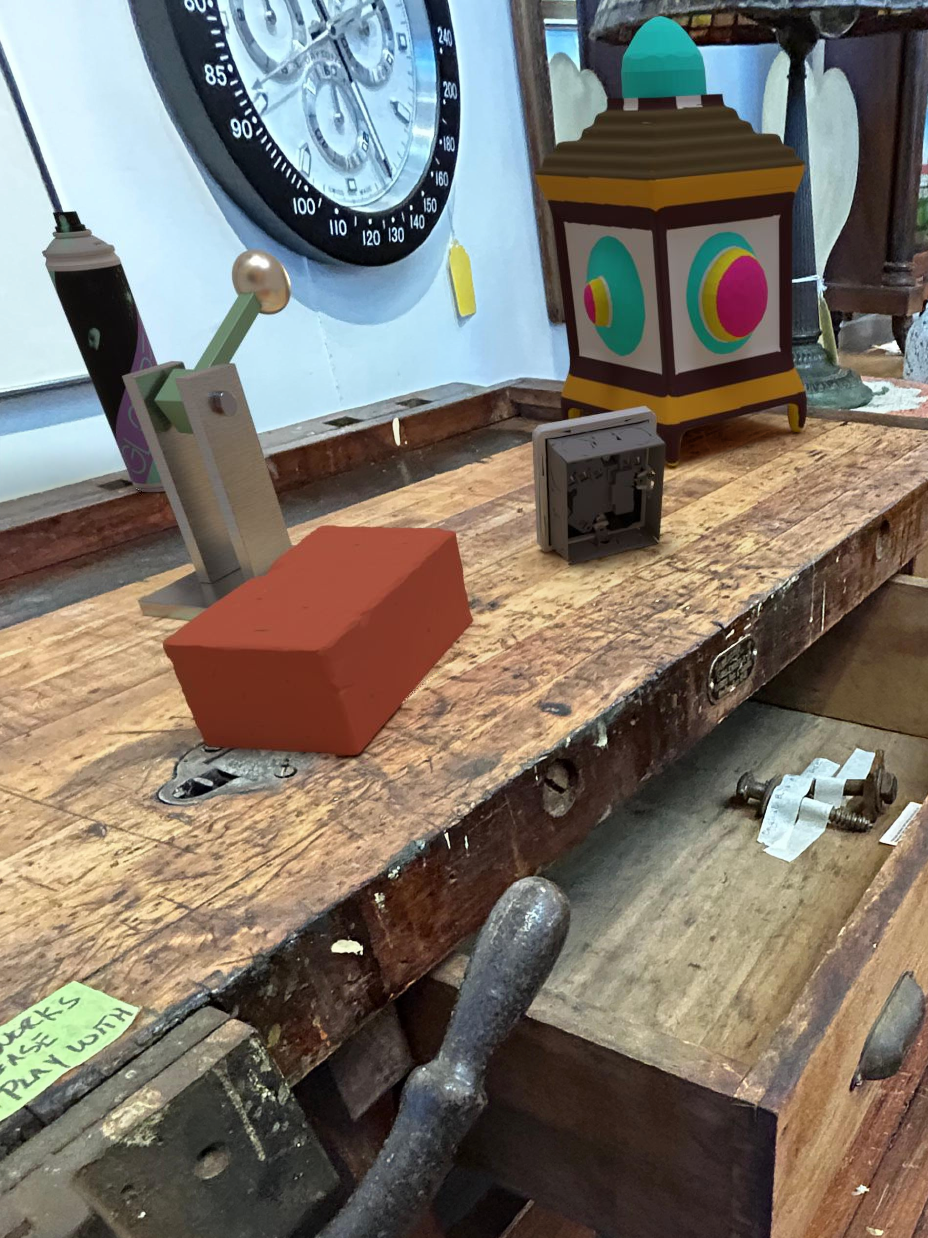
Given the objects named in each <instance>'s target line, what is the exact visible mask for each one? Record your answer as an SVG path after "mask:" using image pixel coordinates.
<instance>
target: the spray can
mask: <svg viewBox="0 0 928 1238" xmlns="http://www.w3.org/2000/svg"><path fill="white" fill-rule="evenodd" d="M52 215H53V218H54V221H55V225H56V226H54V230H55V231H52V237H54V238H53V239H52V240H51V241H50V243H48V246H47V247H46V248H45V249H44V250H42V251H41V253H42V257H44V258H45V263H44V265H45V268H46V270H47V273H48V275H49V277H50V280H51V282H52V285H53V288H54V290H55V293H56V295H57V297H58V299H59V302H60V306H61V307H62V310H63V312H64V316H65V317H66V320H67V324H68V325H69V327H70V330H71V333H72V335H73V337H74V341H75V343H76V345H77V348H78V350H79V352H80V355H81V358H82V361H83V363H84V366H85V368H86V371H87V373H88V375H89V378H90V380H91V383H92V385H93V388H94V390H95V393H96V396H97V398H98V401H99V403H100V406H101V408H102V411H103V413H104V415H105V418H106V420H107V423H108V426H109V428H110V430H111V433H112V435H113V438H114V440H115V443H116V445H117V448H118V450H119V454H120V456H121V458H122V461H123V463H124V466H125V469H126V471H127V473H128V476H129V478H130V481H131V483H132V485H133V488H134V487H135V488H137V489H139V490H141V491H142V493H162V492H164V493H165V492H166V491H165V489H164V486H163V483H162V481H161V478H160V476H159V473H158V470H157V468H156V465H155V462H154V460H153V457H152V454H151V452H150V449H149V447H148V444H147V441H146V439H145V436H144V433H143V431H142V428H141V425H140V423H139V420H138V418H137V415H136V412H135V410H134V407H133V404H132V402H131V399H130V396H129V394H128V391H127V388H126V386H125V383H124V381H123V378H122V376H123V375H127V374H130V373H133V372H137V371H140V370H143V369H147V368H150V367H153V366H156V365H159V364H158V362H157V361H158V360H157V359H156V356H155V353H154V351H153V348H152V345H151V342H150V339H149V336H148V334H147V330H146V328H145V325H144V322H143V319H142V317H141V314H140V312H139V309H138V305H137V303H136V300H135V297H134V294H133V292H132V289H131V286H130V283H129V281H128V278H127V275H126V272H125V270H124V267H123V264H122V261H121V259H120V257H119V256H118V255H117V254H116V249H115V248H116V247H115V246H114V245H113V244H109V243H108V242H106V241H104V240H102V239H101V238H99V237H97V236H96V235H93V232H92V229H90V228H87V227H86V225H85V224H83V223H82V221H81V219H80V217H79V214H78V212H77V211H76V210H74V211H73V210H72V211H53V212H52ZM135 488H134V489H135ZM141 491H140V492H141Z"/></svg>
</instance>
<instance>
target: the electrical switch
mask: <svg viewBox="0 0 928 1238" xmlns="http://www.w3.org/2000/svg"><path fill="white" fill-rule="evenodd" d="M656 425H657V417H656V415H655V414H654V412H652V411H651V410H650V409H648V408H647V407H646V406H642V407H636V408H631V409H625V410H620V411H614V412H609V413H603V414H592V415H587V416H581V418H575V419H570V420H564V421H563V420H559V421H554V422H548V423H542V424H538V425H537V426H536V428H534V430H533V432H532V434H531V439H532V440H531V441H532V442H531V443H532V459H533V460H532V461H533V463H532V464H533V482H534V485H533V486H534V503H535V505H534V506H535V527H536V543H537V544H538V546H539V547H540V549H541V551H542V552H543V553H548V552H552V551H555V552H556V554H558V555H560V556H561V557H562V558H563V560H565V561H566V562H567V563H568V565H574V564H578V563H582V562H586V561H590V560H595V559H598V558H602V557H607V556H611V555H615V554H614V553H616V554H619V553H624V552H626V551H625V550H628V551H632V550H636V548H637V549H641V548H644V547H643V546H645V547H649V546H653V545H657V543H658V544H659V543H660V541H661V525H662V510H663V494H664V478H665V477H664V476H665V464H666V463H665V462H666V460H665V449H666V444H665V442H664V441H663V440H662V439H661V438H660V436H659V435H658V433H656ZM652 482H653V484H652ZM605 541H608V543H602V542H605ZM652 544H653V545H652ZM623 551H624V552H623ZM569 559H572V560H571V561H569Z"/></svg>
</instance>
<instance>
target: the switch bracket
mask: <svg viewBox="0 0 928 1238" xmlns="http://www.w3.org/2000/svg"><path fill="white" fill-rule="evenodd" d="M173 369H187V368H186V365H185V363H184V361H181V360H180V361H179V360H170V361H166V362H164V363H163V362H162V363H159V364H158V365H156V366H153V367H150V368H147V369H143V370H140V371H137V372H133V373H130V374H127V375H123V376H122V378H123V381H124V383H125V386H126V388H127V391H128V394H129V396H130V399H131V402H132V404H133V407H134V410H135V412H136V415H137V418H138V420H139V423H140V425H141V428H142V431H143V433H144V436H145V439H146V441H147V444H148V447H149V449H150V452H151V454H152V457H153V460H154V462H155V465H156V468H157V470H158V473H159V476H160V478H161V481H162V483H163V486H164V489H165V491H164V492H165V495H166V497H167V499H168V502H169V505H170V507H171V509H172V513H173V515H174V517H175V520H176V524H177V526H178V528H179V531H180V534H181V536H182V540H183V541H184V544H185V546H186V550H187V553H188V555H189V557H190V559H191V563H192V566H193V567H194V571H192V572H191V573H188V574H186V575H184V576H182V577H181V578H179V579H177V580H175V581H173V582H170V583H169V584H167V585H165V586H163V587H161V588H159V589H157V590H156V591H154V592H152V593H150V594H148V595H146V596H144V597H142V598H140V599H139V600H137V603H138V605H139V608H140V610H141V612H142V615H143V616H147V617H156V618H164V619H173V620H181V621H188V622H190V621H191V620H192V619H194V618H195V617H197V616H198V615H199V614H201V613H202V612H203V611H205V610H206V609H208V608H209V607H210V606H212V605H213V604H214V603H216V602H217V601H219V600H220V599H222V598H223V597H225V596H226V595H228V594H229V593H231V592H232V591H233V590H235V589H236V588H238V587H239V586H240V585H242V584H244V583H245V582H247V581H248V580H250V579H252V578H256V577H261V576H264V575H266V574H268V571H269V568H270V567H271V565H272V564H273V563H274V562H275V561H276V560H277V559H278V558H279V557H280V556H282V555H283V554H284V553H285V552H287V551H288V550H290V549H291V548H293V547H294V546H295V545H296V544H292V541H291V538H290V535H289V531H288V529H287V526H286V521H285V519H284V516H283V513H282V509H281V506H280V503H279V499H278V496H277V493H276V490H275V487H274V483H273V480H272V477H271V474H270V471H269V468H268V463H267V461H266V457H265V455H264V451H263V449H262V448H263V447H262V445H261V442H260V439H259V436H258V433H257V430H256V426H255V422H254V420H253V417H252V413H251V410H250V407H249V404H248V400H247V397H246V394H245V391H244V388H243V384H242V381H241V377H240V375H239V372H238V368H237V364H236V363H235V362H230V363H220V364H217V365H214V366H211V367H208V368H205V369H202V370H199V371H195V372H192V373H189V374H186V375H183V376H180V377H177V378H175V381H176V384H177V387H178V390H179V393H180V396H181V399H182V401H183V404H184V407H185V410H186V413H187V416H188V419H189V422H190V424H191V427H192V430H193V433H194V434H186V433H179V432H178V431H177V429H176V428H175V427H174V426H173V424H172V423H171V422H170V420H169V419H168V418H167V416H166V415H165V414H164V413H163V411H162V410H161V409H160V407H159V406H158V405H157V404H156V402H155V401H154V400H155V398H156V396H157V395H158V393H159V391H160V390H161V388H162V387H163V385H164V383H165V382H166V380H167V378H168V377H169V375H170V374H171V372H172V370H173Z"/></svg>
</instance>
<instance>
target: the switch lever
mask: <svg viewBox="0 0 928 1238" xmlns="http://www.w3.org/2000/svg"><path fill="white" fill-rule="evenodd" d="M231 280H232V281H231V282H232V285H233V288H234V290H235V293H236V295H237V297H236V299H235V301H234V302H233V303H232V306H231V307H230V309H229V311H228V312H227V313H226V316H225V317H224V319H223V321H222V322H221V323H220V325H219V327H218V329H217V330H216V332H215V333H214V335H213V337H212V339H211V340H210V342H209V343H208V344H207V347H206V348H205V350H204V352H203V353H202V355H201V356H200V358H199V360H198V362H197V363H196V365H195V366H194V368H193V369H190V368H189V369H188V368H186V369H173V370H172V372H171V374H170V375H169V377H168V378H167V380H166V382H165V383H164V385H163V387H162V388H161V390H160V391H159V393H158V395H157V396H156V398H155V400H154V401H155V402H156V404H157V405H158V406H159V407H160V409H161V410H162V411H163V413H164V414H165V415H166V416H167V418H168V419H169V420H170V422H171V423H172V424H173V426H174V427H175V428H176V429H177V431H178V432H179V433H186V434H194V433H193V430H192V427H191V424H190V422H189V419H188V416H187V413H186V410H185V407H184V404H183V401H182V399H181V396H180V393H179V390H178V387H177V384H176V381H175V378H177V377H180V376H183V375H186V374H189V373H192V372H195V371H199V370H202V369H205V368H208V367H211V366H214V365H217V364H220V363H231V361H232V360H233V358H234V356H235V355H236V353H237V351H238V350H239V348H240V346H241V344H242V342H243V341H244V340H245V337H246V336H247V334H248V333H249V331H250V329H251V327H252V325H253V324H254V322H255V320H256V319H257V318H258V316H259V314H260V315H265V316H266V315H267V316H271V315H272V316H273V315H276V314H279V313H281V312H282V311H283V310H284V309H285V308H286V307H287V306H288V304H289V302H290V299H291V295H292V283H291V279H290V276H289V274H288V272H287V270H286V268H285V267H284V265H283V264H282V263H281V262H280V260H278V259H277V258H276V257H275V256H274V255H272V254H270V253H269V252H267V251H265V250H261V249H248V250H245V251H243V252H241V253H240V254H239V255H238V256H237V257H236V259H235V260H234V262H233V265H232V268H231Z"/></svg>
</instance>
